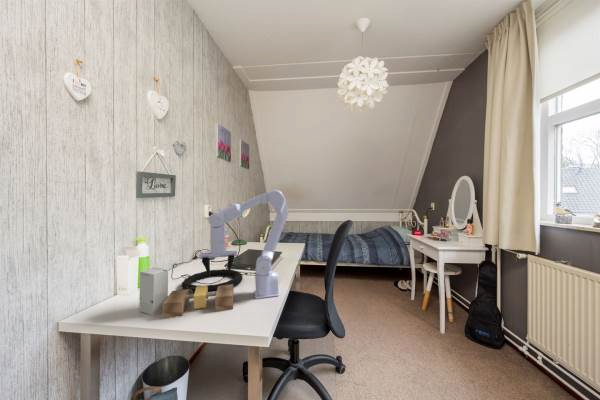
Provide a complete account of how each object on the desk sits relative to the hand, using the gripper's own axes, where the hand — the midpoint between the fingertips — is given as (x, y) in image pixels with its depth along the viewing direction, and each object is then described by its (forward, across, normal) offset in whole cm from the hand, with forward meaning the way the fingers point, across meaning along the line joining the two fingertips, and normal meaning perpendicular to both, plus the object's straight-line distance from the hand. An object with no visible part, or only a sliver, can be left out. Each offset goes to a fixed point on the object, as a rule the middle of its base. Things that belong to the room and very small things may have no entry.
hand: (219, 275), depth 96 cm
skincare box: (+10, -22, -4) cm, 25 cm away
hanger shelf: (+9, -6, -6) cm, 13 cm away
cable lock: (+10, -5, +18) cm, 21 cm away
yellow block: (+8, -6, -5) cm, 12 cm away
